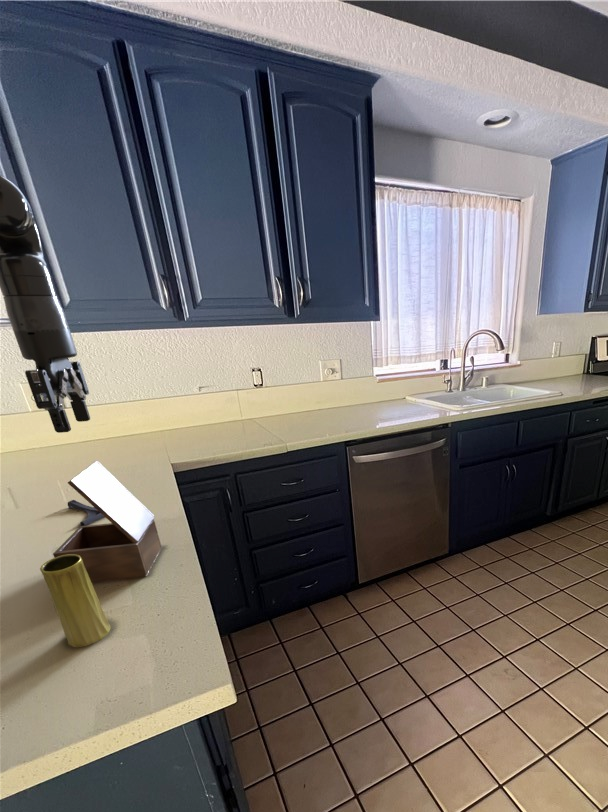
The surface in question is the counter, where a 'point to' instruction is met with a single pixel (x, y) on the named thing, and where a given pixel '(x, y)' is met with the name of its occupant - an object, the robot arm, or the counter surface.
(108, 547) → the chest
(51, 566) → the vase
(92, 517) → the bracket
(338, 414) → the counter surface
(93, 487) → the lid
